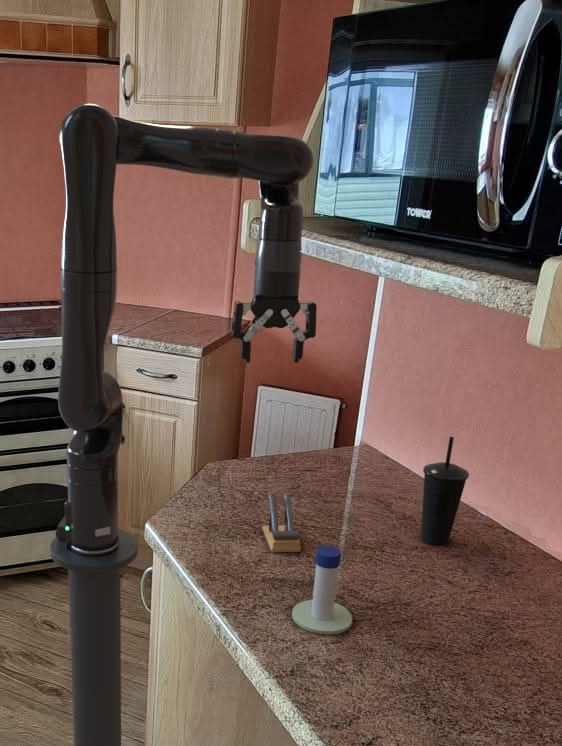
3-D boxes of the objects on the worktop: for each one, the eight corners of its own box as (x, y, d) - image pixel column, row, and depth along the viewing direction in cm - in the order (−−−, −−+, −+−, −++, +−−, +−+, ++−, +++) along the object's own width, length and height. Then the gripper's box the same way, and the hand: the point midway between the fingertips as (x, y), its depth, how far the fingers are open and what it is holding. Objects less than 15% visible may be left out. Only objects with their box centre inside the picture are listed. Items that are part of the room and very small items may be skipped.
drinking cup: (465, 543, 145) (485, 440, 137) (434, 552, 142) (452, 447, 134) (434, 527, 151) (450, 427, 143) (404, 535, 148) (419, 433, 140)
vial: (302, 560, 126) (317, 540, 116) (325, 559, 126) (342, 540, 116) (309, 623, 122) (325, 608, 113) (332, 623, 122) (350, 608, 113)
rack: (262, 529, 150) (264, 492, 147) (289, 529, 150) (292, 491, 147) (271, 552, 141) (274, 513, 138) (300, 551, 142) (304, 512, 139)
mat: (290, 630, 118) (291, 626, 118) (293, 599, 127) (293, 596, 126) (352, 638, 117) (353, 634, 116) (351, 606, 125) (351, 603, 124)
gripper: (239, 270, 129) (233, 367, 135) (325, 270, 129) (316, 367, 135) (232, 263, 136) (227, 356, 142) (314, 263, 136) (306, 356, 142)
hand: (271, 361), depth 139 cm, fingers open, 8 cm apart
